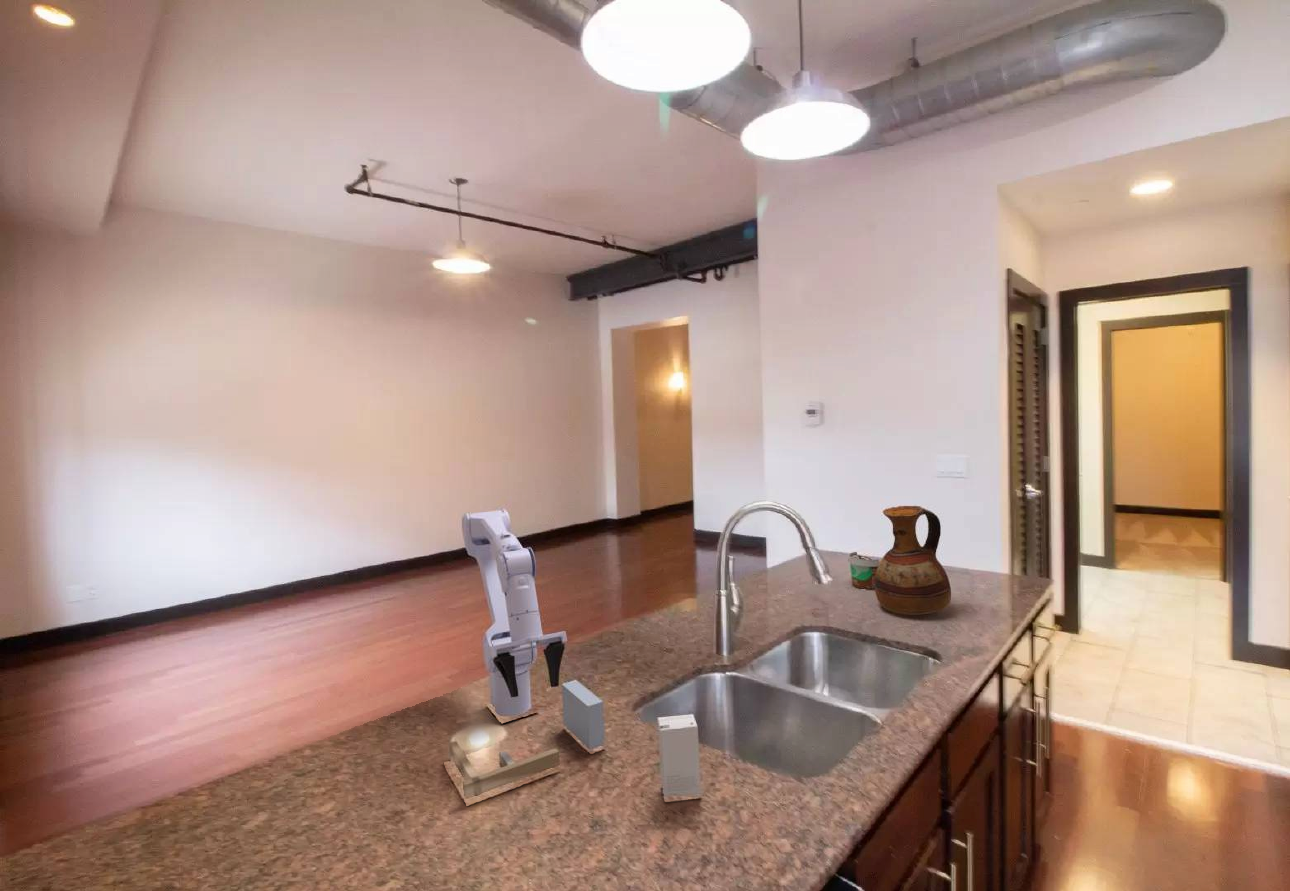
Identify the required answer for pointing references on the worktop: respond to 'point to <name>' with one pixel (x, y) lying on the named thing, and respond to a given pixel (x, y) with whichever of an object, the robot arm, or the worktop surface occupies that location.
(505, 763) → the book rack
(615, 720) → the worktop surface
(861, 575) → the food container
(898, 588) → the ceramic pitcher
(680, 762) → the skincare box
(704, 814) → the worktop surface
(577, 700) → the book
